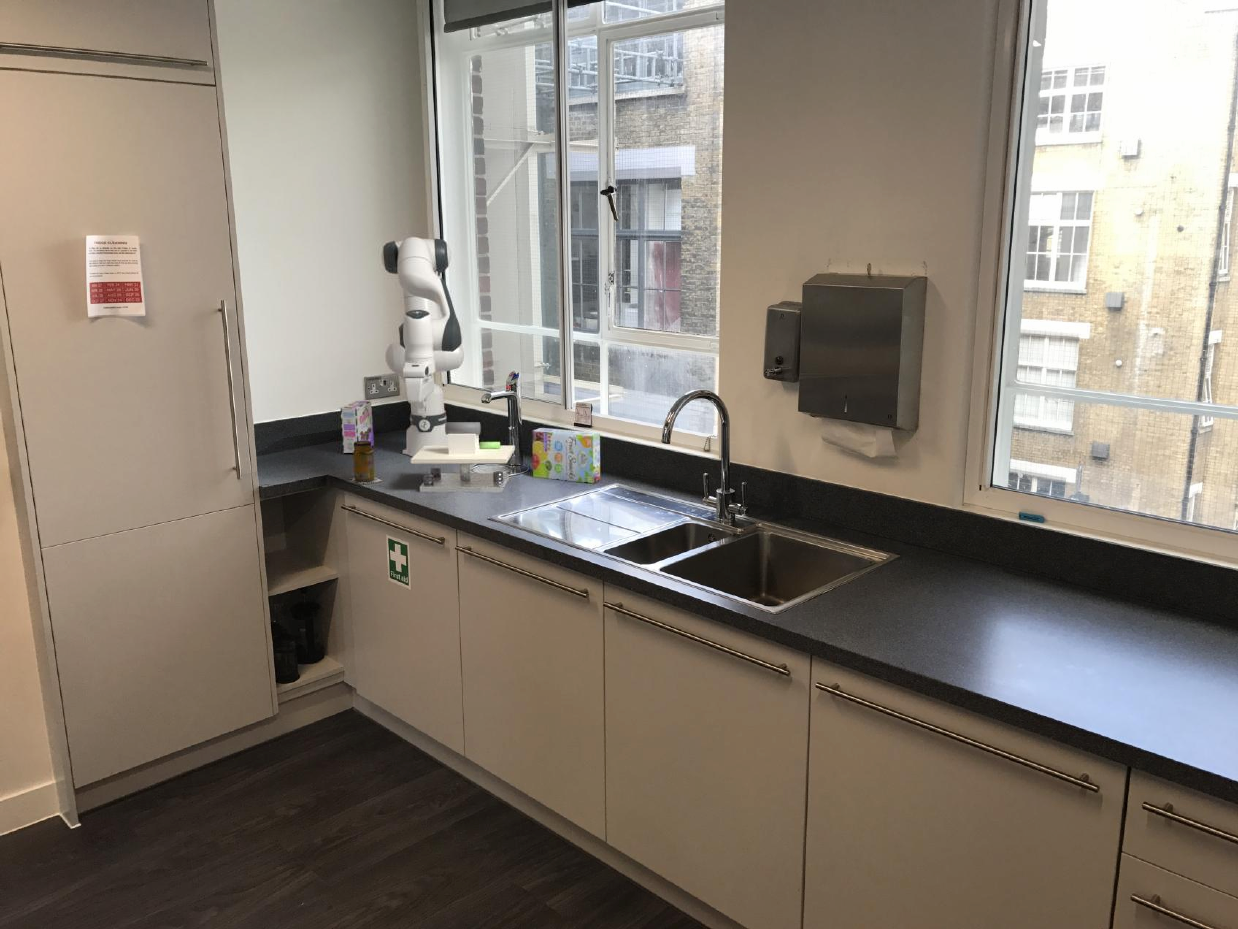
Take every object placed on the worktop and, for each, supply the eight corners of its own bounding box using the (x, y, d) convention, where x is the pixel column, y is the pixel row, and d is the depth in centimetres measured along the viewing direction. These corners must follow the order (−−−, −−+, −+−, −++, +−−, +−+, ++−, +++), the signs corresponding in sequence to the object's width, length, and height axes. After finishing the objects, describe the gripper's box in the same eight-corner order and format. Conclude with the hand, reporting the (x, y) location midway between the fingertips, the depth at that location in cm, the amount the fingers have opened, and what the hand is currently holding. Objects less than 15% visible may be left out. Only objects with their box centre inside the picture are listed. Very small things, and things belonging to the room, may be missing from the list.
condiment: (370, 476, 316) (367, 438, 313) (382, 481, 310) (380, 443, 307) (348, 479, 312) (345, 441, 309) (360, 485, 305) (357, 446, 302)
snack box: (601, 480, 310) (600, 432, 306) (593, 484, 305) (592, 435, 301) (540, 473, 319) (539, 426, 315) (532, 477, 314) (530, 429, 310)
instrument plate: (410, 463, 294) (408, 428, 292) (424, 449, 312) (422, 416, 309) (506, 463, 293) (504, 428, 291) (514, 449, 311) (513, 416, 308)
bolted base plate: (420, 491, 297) (418, 465, 295) (431, 478, 313) (430, 453, 311) (500, 492, 296) (500, 466, 294) (508, 478, 312) (508, 453, 310)
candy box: (359, 454, 344) (355, 407, 340) (342, 454, 345) (339, 407, 341) (374, 446, 357) (371, 400, 353) (359, 445, 358) (356, 399, 354)
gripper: (417, 360, 306) (419, 405, 310) (400, 372, 287) (403, 419, 290) (438, 361, 306) (440, 405, 310) (422, 372, 286) (425, 419, 290)
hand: (422, 412), depth 300 cm, fingers closed
